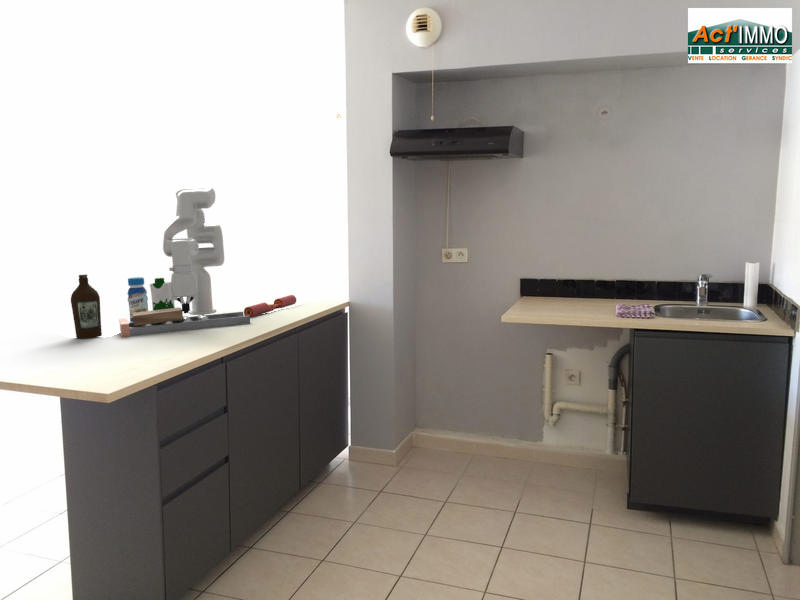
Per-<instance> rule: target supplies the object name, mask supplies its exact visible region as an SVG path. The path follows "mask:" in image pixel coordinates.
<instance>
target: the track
mask: <svg viewBox="0 0 800 600" xmlns="http://www.w3.org/2000/svg"><path fill="white" fill-rule="evenodd" d="M204 315H205V316H206V317H208V318H209V319H210V320H200V321H197V317H198V315H191V316H188V317H189V318H190V319H191V320H192V321H190V322H180V320H176V321H172V322H173V323H170V324H162V323H161V322H160V323H152V325H151V326H142V325H136V326H134V322H130V321H129V320H128V318H120V319H118V321H119V329H120V330H119V331H120V335H121V337H122V338H127V337H134V336H145V335H152V334H153V335H154V334H160V333H161V334H162V333H171V332H172V333H173V332H181V331H192V330H202V329H209V328H218V327H219V328H220V327H228V326H237V325H238V326H239V325H247V324H251V317H250V316H245V315H244V311H237V312H236V311H235V312H233V311H232V312H224V313H212V314H204Z"/></svg>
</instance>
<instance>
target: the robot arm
mask: <svg viewBox="0 0 800 600" xmlns="http://www.w3.org/2000/svg"><path fill="white" fill-rule="evenodd" d="M175 191H176V192H175V196H176V214H175V218H174V220H173V221H172V222H171V223H170V224H169V225H168V226H167V227H166V228H165V231H164V233H163V242H162V250H163V253H164V255H165V256H166V257H170V258H172V260H171V261H172V266H171V267H169V271H171V272H172V273H171V277H170V279H171V280H170V282H171V291H172V300H174V301H177V302H179V303H180V304H181V309H182V313H184V314H189V315H191V316H198V315H200V314H204V315H213V314H216V313H217V309H215V308H214V306H213V295H212V293H213V292H212V281H211V275H210V273H209V271H208V270H206V269H205V268H207V267H208V268H209V267H213V268H214V267H221V266H223V265H224V263H225V249H224V238H223V230H222V228H221V225H220V224H218V223H214V222H211V223H206V219H205V213H204V211H203V209H209V208H211V207H212V206H213V205H214V204H215V201H216V192H215V190H214V188H213V187H212V186H186V187H180V188H177V189H176V190H175ZM185 230H186V234H187V235H186V236H187V238H174V237H175V236H176V235H177V234H179V233H181V232H183V231H185ZM207 244H209V245H210V244H211V245H213V246H200V245H207ZM184 298H186V300H184ZM190 305H191V309H192V310H191V309H190Z"/></svg>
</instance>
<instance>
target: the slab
mask: <svg viewBox="0 0 800 600" xmlns="http://www.w3.org/2000/svg"><path fill="white" fill-rule="evenodd" d="M183 313H184V312H182V307H180V306H179V307H175V308H170V309H161V310H153V309H152V310H148V311H144V312H136V313H133V320H134V326H136V325H144V324H152V323H160V322H168V321H176V320H183V316H184V315H183Z"/></svg>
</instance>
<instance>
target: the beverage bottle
mask: <svg viewBox="0 0 800 600" xmlns="http://www.w3.org/2000/svg"><path fill="white" fill-rule="evenodd" d="M127 285H128V286H129V288H128V290H127V303H128V312H129V323H131V322H134V320H133V313H136V312H144V311H149V304H148V300H149V298H148V295H147V294H148V291H147V289H146V288H145V287H144V285H145V278H144V277H140V276H139V277H138V276H137V277H136V276H135V277H128V278H127Z"/></svg>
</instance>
